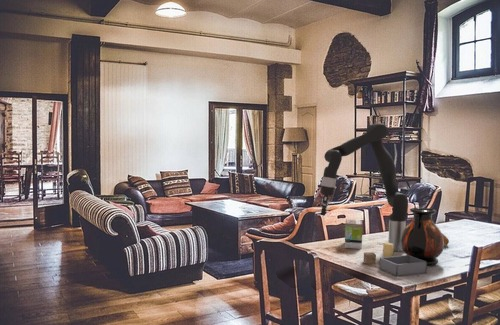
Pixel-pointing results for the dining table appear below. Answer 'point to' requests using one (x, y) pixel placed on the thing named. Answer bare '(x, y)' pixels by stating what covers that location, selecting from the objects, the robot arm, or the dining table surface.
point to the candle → (387, 250)
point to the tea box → (353, 234)
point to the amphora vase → (422, 237)
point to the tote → (403, 265)
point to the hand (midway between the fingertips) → (323, 214)
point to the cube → (369, 258)
